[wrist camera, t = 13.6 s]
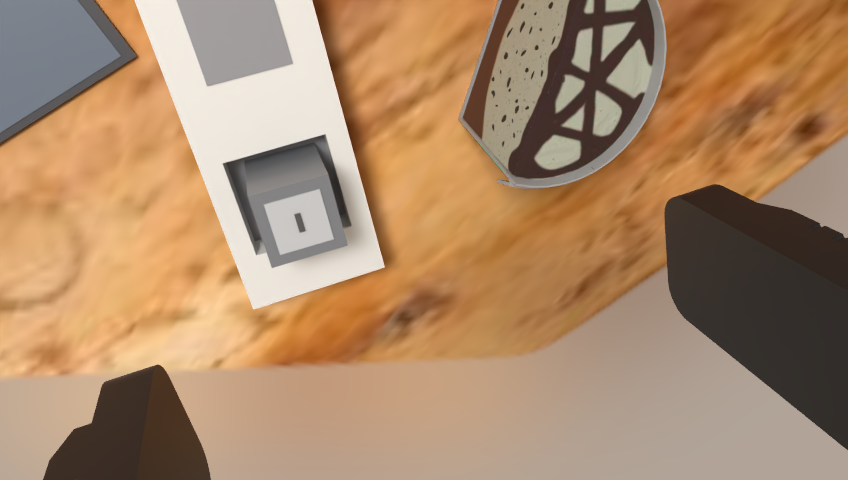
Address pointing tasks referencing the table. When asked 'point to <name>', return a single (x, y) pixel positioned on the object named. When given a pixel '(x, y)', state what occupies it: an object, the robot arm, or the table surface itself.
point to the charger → (294, 204)
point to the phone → (52, 56)
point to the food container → (564, 85)
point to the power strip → (261, 124)
